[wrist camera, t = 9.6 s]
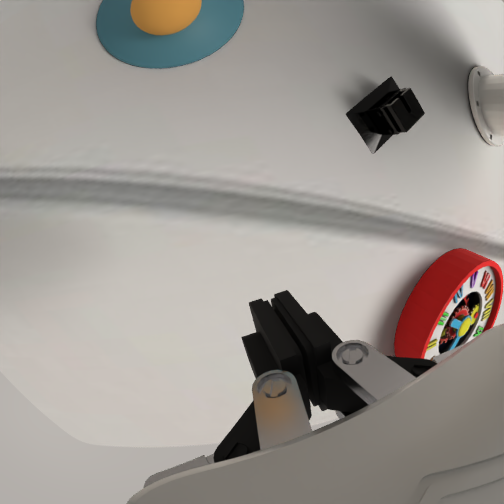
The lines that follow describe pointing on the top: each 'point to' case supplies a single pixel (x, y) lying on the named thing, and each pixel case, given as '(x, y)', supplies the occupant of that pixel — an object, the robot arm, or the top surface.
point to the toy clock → (449, 305)
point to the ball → (164, 15)
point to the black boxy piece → (385, 114)
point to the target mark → (167, 46)
